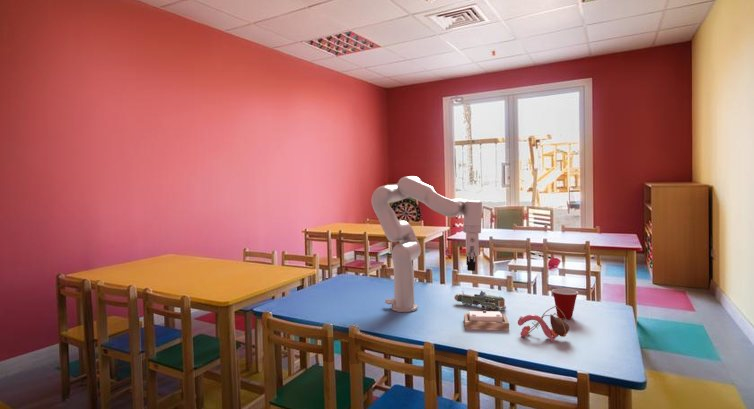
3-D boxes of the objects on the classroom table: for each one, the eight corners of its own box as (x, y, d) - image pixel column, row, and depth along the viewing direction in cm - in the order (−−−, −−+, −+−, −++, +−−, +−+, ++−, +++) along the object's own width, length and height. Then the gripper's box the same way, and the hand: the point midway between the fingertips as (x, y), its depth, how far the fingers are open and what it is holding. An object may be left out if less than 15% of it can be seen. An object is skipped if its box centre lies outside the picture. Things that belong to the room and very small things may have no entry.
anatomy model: (514, 319, 175) (543, 293, 169) (543, 348, 171) (575, 322, 165) (509, 329, 165) (540, 301, 159) (540, 360, 161) (573, 332, 154)
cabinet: (465, 329, 176) (465, 321, 175) (464, 319, 186) (464, 312, 186) (509, 330, 173) (509, 322, 173) (505, 321, 184) (505, 313, 183)
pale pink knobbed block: (499, 320, 182) (499, 310, 182) (502, 326, 176) (502, 315, 176) (468, 320, 184) (468, 310, 183) (470, 325, 177) (470, 315, 177)
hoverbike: (502, 314, 193) (502, 296, 192) (450, 306, 206) (450, 289, 205) (508, 308, 201) (508, 291, 201) (457, 301, 214) (457, 284, 214)
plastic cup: (576, 314, 190) (577, 287, 190) (579, 322, 180) (580, 294, 179) (550, 312, 194) (550, 286, 193) (552, 320, 184) (552, 292, 183)
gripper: (482, 232, 174) (480, 273, 176) (479, 226, 191) (478, 263, 193) (463, 231, 176) (462, 272, 177) (462, 225, 193) (461, 262, 194)
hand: (470, 267), depth 185 cm, fingers open, 9 cm apart
